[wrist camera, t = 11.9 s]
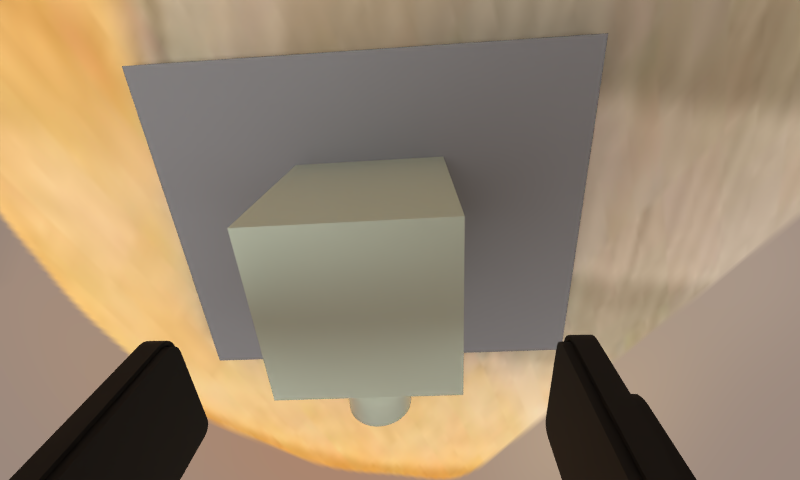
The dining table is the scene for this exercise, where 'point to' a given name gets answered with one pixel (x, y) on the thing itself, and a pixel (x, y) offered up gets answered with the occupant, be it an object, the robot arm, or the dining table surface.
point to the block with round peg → (358, 283)
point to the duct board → (385, 140)
